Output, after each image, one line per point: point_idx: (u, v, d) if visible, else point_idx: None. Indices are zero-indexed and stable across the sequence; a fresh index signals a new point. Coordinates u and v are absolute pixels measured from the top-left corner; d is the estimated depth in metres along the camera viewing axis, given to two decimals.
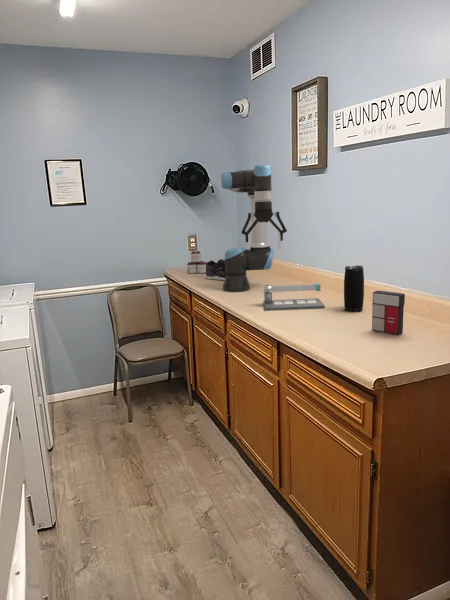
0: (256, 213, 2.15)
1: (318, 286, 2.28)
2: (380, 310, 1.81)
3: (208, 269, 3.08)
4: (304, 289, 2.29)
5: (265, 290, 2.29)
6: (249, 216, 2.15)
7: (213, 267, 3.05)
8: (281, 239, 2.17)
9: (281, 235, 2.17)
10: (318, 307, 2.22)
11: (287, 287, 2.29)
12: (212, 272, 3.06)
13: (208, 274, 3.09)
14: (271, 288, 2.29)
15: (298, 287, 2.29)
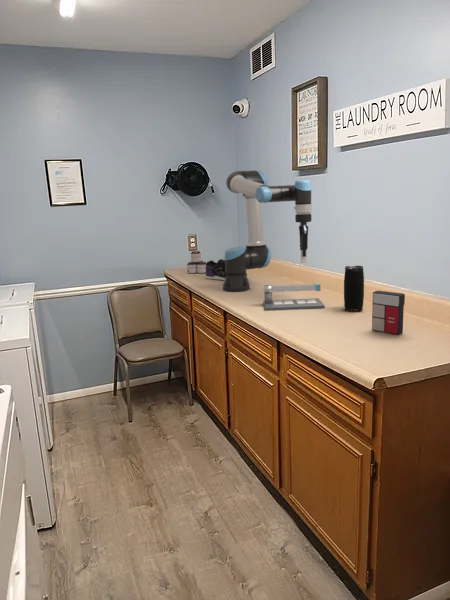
0: (300, 224, 2.34)
1: (318, 286, 2.28)
2: (380, 310, 1.81)
3: (208, 269, 3.08)
4: (304, 289, 2.29)
5: (265, 290, 2.29)
6: None
7: (213, 267, 3.05)
8: (302, 255, 2.32)
9: (302, 251, 2.32)
10: (318, 307, 2.22)
11: (287, 287, 2.29)
12: (212, 272, 3.06)
13: (208, 274, 3.09)
14: (271, 288, 2.29)
15: (298, 287, 2.29)
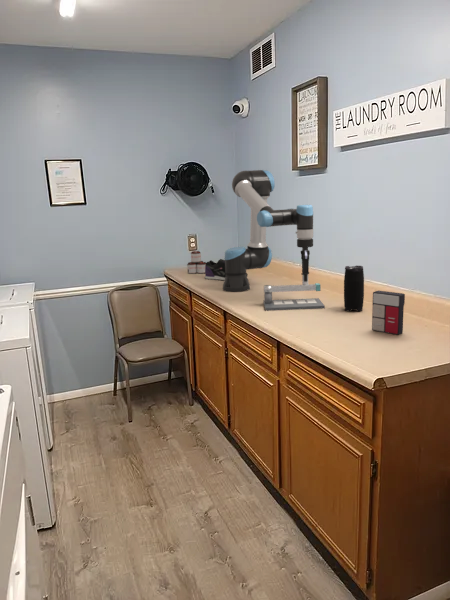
0: None
1: (318, 286, 2.28)
2: (380, 310, 1.81)
3: (208, 269, 3.08)
4: (304, 289, 2.29)
5: (265, 290, 2.29)
6: None
7: (213, 267, 3.05)
8: (304, 280, 2.30)
9: (304, 276, 2.30)
10: (318, 307, 2.22)
11: (287, 287, 2.29)
12: (212, 272, 3.06)
13: (207, 274, 3.09)
14: (271, 288, 2.29)
15: (298, 287, 2.28)
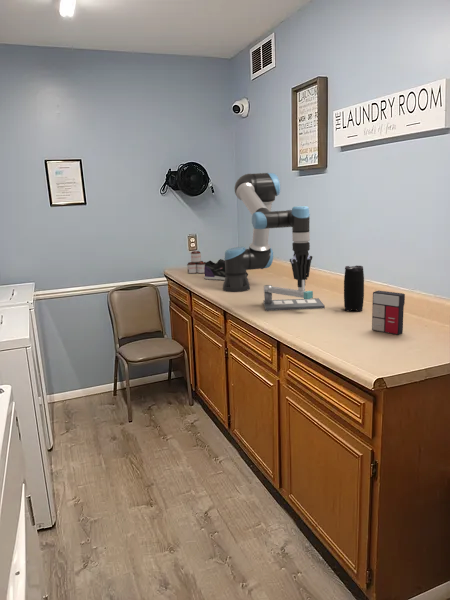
0: None
1: (305, 294, 2.12)
2: (380, 310, 1.81)
3: (208, 269, 3.07)
4: (294, 295, 2.18)
5: (264, 289, 2.31)
6: None
7: (213, 267, 3.05)
8: None
9: None
10: (318, 307, 2.22)
11: (280, 290, 2.23)
12: (212, 272, 3.05)
13: (207, 275, 3.08)
14: (268, 288, 2.28)
15: (289, 292, 2.19)
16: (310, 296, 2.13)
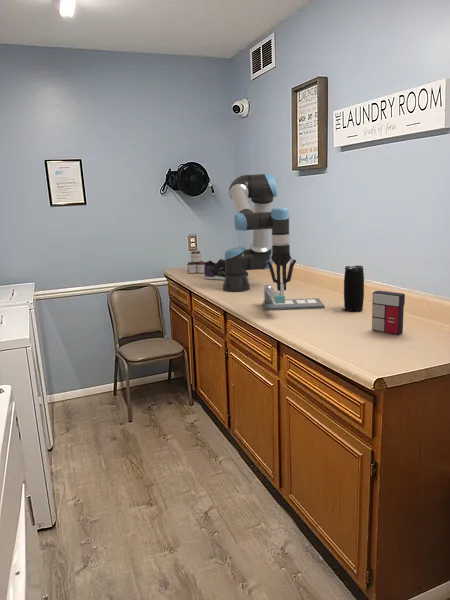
0: None
1: (275, 298, 2.07)
2: (380, 310, 1.81)
3: (208, 269, 3.07)
4: (273, 297, 2.14)
5: None
6: None
7: (213, 267, 3.05)
8: None
9: None
10: (318, 307, 2.22)
11: (269, 291, 2.21)
12: (212, 272, 3.05)
13: (207, 275, 3.08)
14: (265, 288, 2.29)
15: (271, 294, 2.16)
16: (281, 301, 2.07)
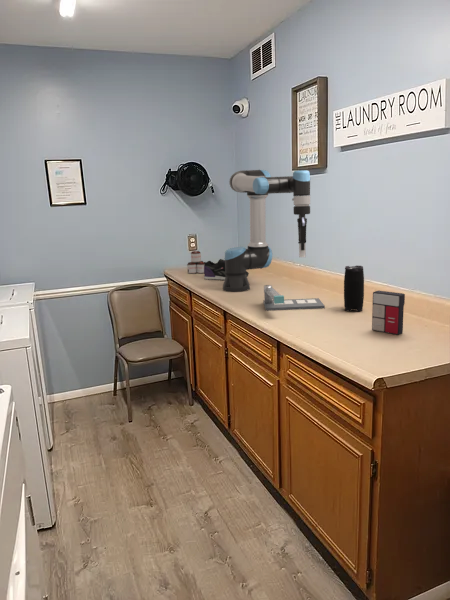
0: None
1: (274, 298, 2.07)
2: (380, 310, 1.81)
3: (208, 269, 3.07)
4: (272, 297, 2.14)
5: None
6: None
7: (214, 267, 3.05)
8: (301, 248, 2.24)
9: (301, 245, 2.23)
10: (318, 307, 2.22)
11: (268, 291, 2.21)
12: (213, 272, 3.05)
13: (207, 275, 3.07)
14: (265, 288, 2.29)
15: (271, 294, 2.16)
16: (280, 301, 2.07)
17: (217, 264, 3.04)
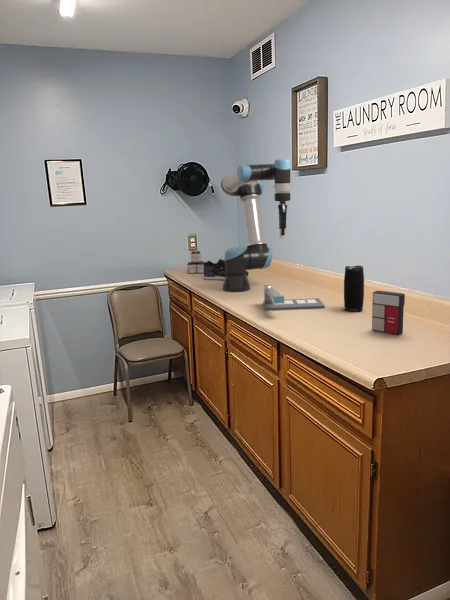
0: (279, 203, 2.37)
1: (274, 298, 2.07)
2: (380, 310, 1.81)
3: (208, 269, 3.06)
4: (272, 297, 2.14)
5: None
6: None
7: (214, 267, 3.04)
8: (281, 233, 2.36)
9: (281, 230, 2.35)
10: (318, 307, 2.22)
11: (268, 291, 2.21)
12: (213, 272, 3.05)
13: (207, 275, 3.07)
14: (265, 288, 2.29)
15: (271, 294, 2.16)
16: (280, 301, 2.07)
17: (217, 264, 3.04)
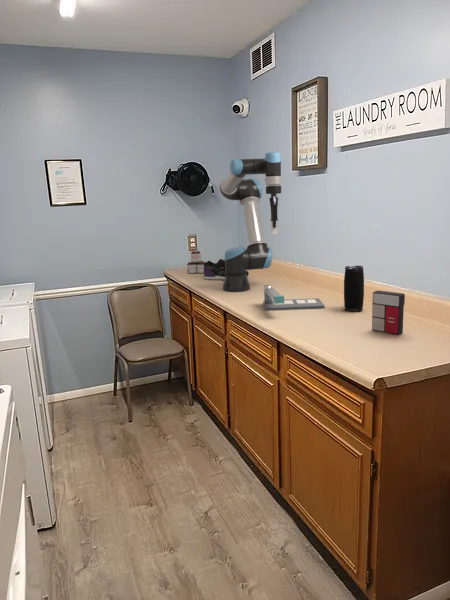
0: None
1: (274, 298, 2.07)
2: (380, 310, 1.81)
3: (208, 269, 3.07)
4: (272, 297, 2.14)
5: None
6: None
7: (214, 267, 3.05)
8: (273, 226, 2.40)
9: (273, 222, 2.39)
10: (318, 307, 2.22)
11: (268, 291, 2.21)
12: (213, 272, 3.05)
13: (207, 275, 3.08)
14: (265, 288, 2.29)
15: (271, 294, 2.16)
16: (280, 301, 2.07)
17: (217, 264, 3.05)
